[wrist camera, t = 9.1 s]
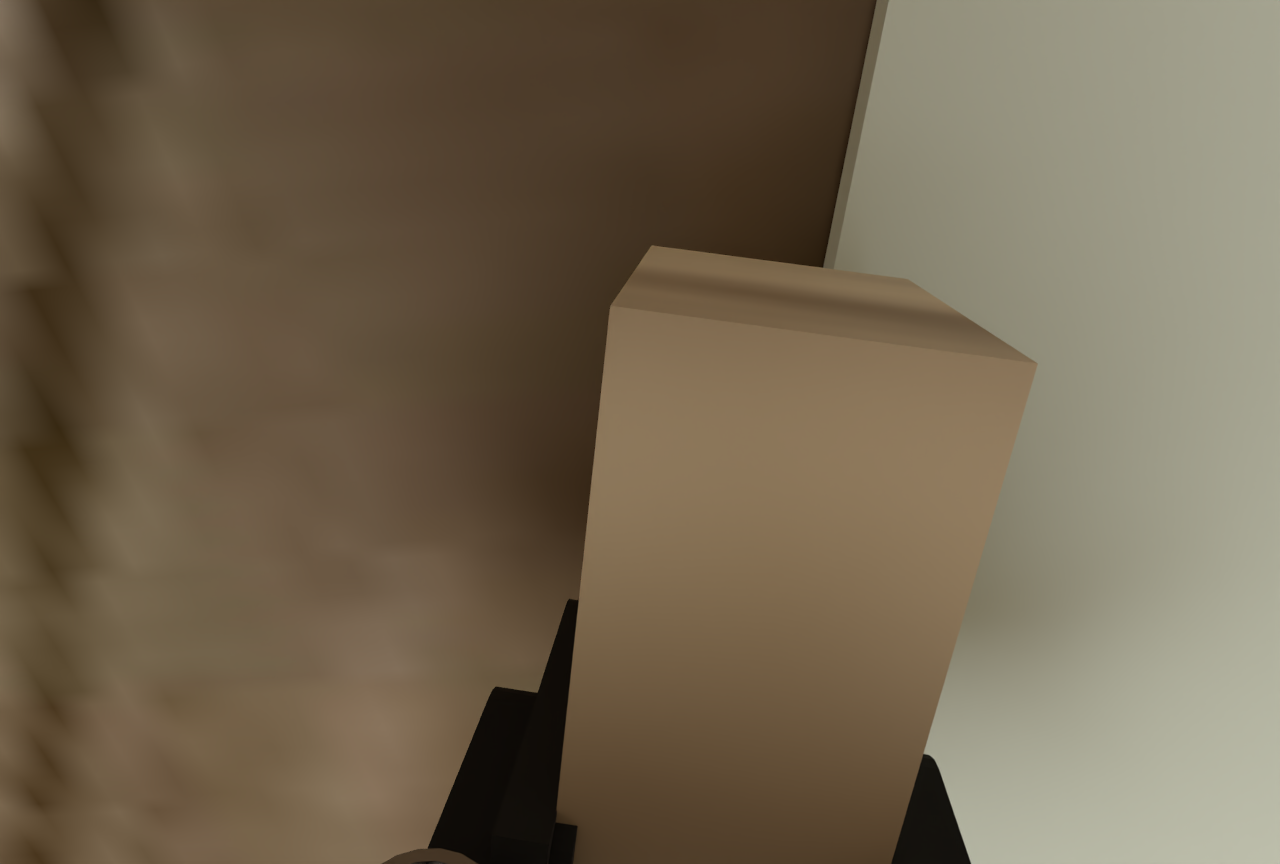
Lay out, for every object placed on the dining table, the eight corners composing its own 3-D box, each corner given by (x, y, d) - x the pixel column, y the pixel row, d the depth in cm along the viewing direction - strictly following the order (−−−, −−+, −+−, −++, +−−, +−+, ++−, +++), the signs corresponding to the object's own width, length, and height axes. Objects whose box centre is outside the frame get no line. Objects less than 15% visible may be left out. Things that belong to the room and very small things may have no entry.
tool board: (1011, -668, 9) (1045, -763, 8) (1994, -587, 8) (2154, -676, 7) (708, 839, 17) (707, 881, 16) (1199, 920, 16) (1228, 969, 15)
